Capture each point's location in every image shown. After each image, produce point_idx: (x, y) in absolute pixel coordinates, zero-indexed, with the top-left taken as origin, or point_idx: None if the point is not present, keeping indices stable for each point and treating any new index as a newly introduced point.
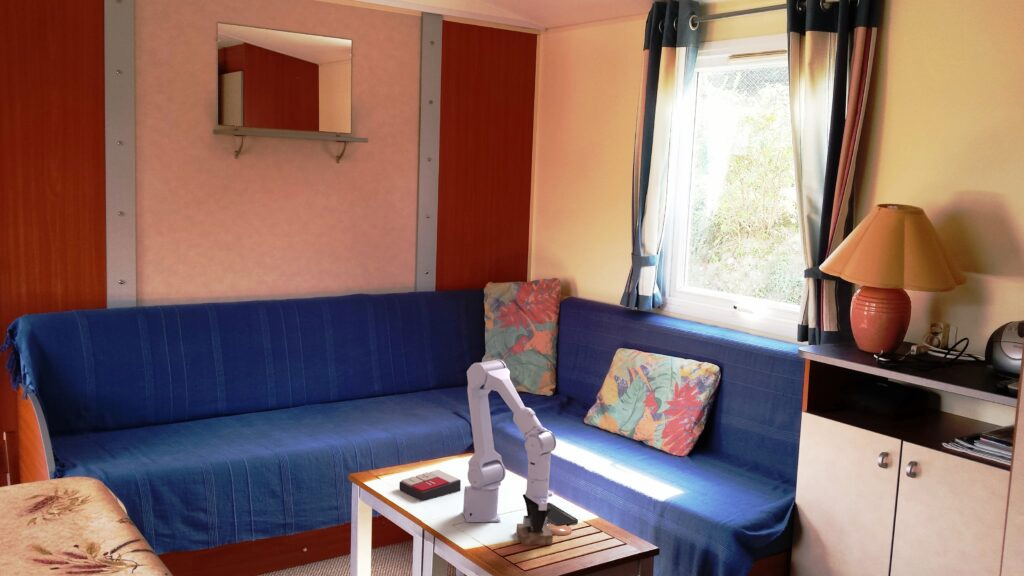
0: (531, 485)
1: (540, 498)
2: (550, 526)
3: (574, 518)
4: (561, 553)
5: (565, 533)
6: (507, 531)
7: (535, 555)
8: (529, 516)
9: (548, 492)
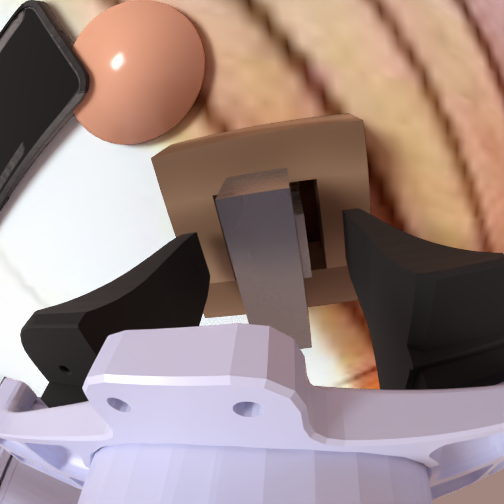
0: None
1: (474, 470)
2: (108, 120)
3: (10, 23)
4: (451, 85)
5: (189, 26)
6: (209, 318)
7: (463, 218)
8: (266, 322)
9: (178, 435)
